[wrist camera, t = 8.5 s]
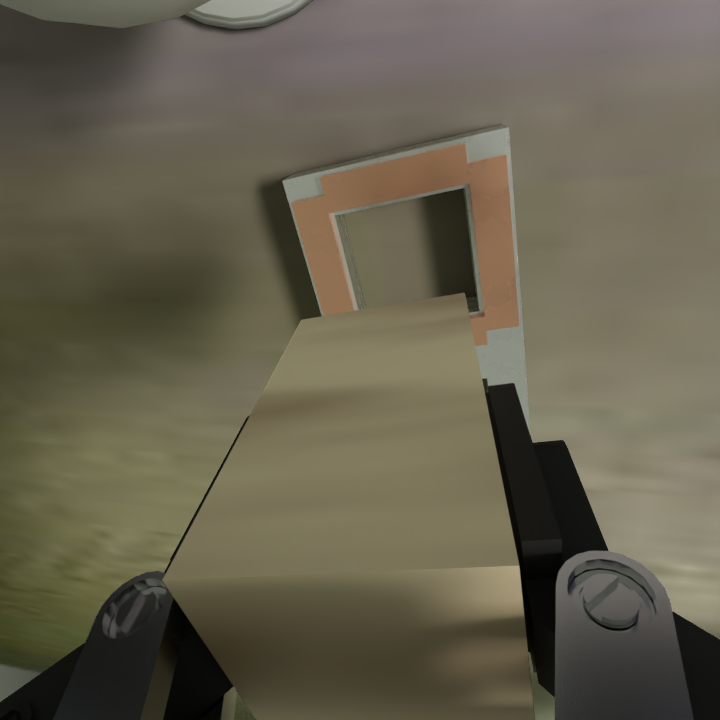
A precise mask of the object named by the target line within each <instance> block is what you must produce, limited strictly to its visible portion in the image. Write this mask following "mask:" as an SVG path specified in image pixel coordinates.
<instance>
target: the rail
mask: <svg viewBox="0 0 720 720" xmlns="http://www.w3.org/2000/svg"><path fill="white" fill-rule="evenodd" d="M282 182H283V185H284V189H285V192H286V196H287V199H288V202H289V206H290V209H291V213H292V216H293V219H294V223H295V226H296V230H297V233H298V237H299V240H300V243H301V247H302V250H303V254H304V257H305V260H306V264H307V267H308V271H309V274H310V278H311V281H312V284H313V288H314V291H315V295H316V298H317V301H318V305H319V308H320V312H321V315H322V316H327V315H333V314H339V313H345V312H351V311H357V310H363V309H366V306H365V302H364V297H363V293H362V289H361V285H360V281H359V277H358V273H357V268H356V264H355V260H354V256H353V252H352V248H351V244H350V239H349V235H348V231H347V227H346V223H345V219H344V215H343V214H345V213H349V212H354V211H359V210H363V209H368V208H373V207H377V206H382V205H387V204H391V203H396V202H401V201H405V200H410V199H415V198H419V197H424V196H429V195H433V194H438V193H443V192H447V191H452V190H457V189H462V188H463V192H464V201H465V209H466V218H467V226H468V235H469V243H470V251H471V260H472V268H473V277H474V285H475V293H476V296H473V297H467V298H466V301H467V306H468V311H469V316H470V321H471V326H472V331H473V336H474V341H475V346H476V351H477V356H478V361H479V366H480V371H481V376H482V379H485V378H486V386H487V393H488V386H492V385H500V384H508V383H514V384H515V387H516V390H517V394H518V397H519V400H520V404H521V407H522V410H523V413H524V417H525V420H526V423H527V426H528V430H529V433H530V424H529V409H528V395H527V381H526V367H525V352H524V338H523V324H522V309H521V295H520V281H519V267H518V252H517V238H516V224H515V210H514V195H513V181H512V167H511V152H510V138H509V127H508V126H505V125H503V124H500V125H496V126H492V127H488V128H483V129H479V130H475V131H471V132H467V133H462V134H458V135H454V136H450V137H446V138H442V139H437V140H433V141H429V142H425V143H421V144H416V145H412V146H408V147H404V148H400V149H396V150H391V151H387V152H383V153H379V154H375V155H370V156H366V157H362V158H358V159H354V160H350V161H345V162H341V163H337V164H333V165H329V166H324V167H320V168H316V169H312V170H308V171H304V172H299V173H295V174H292V175H291V176H289V177H287V178H286V179H284V180H283V181H282Z"/></svg>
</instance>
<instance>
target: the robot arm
mask: <svg viewBox="0 0 720 720" xmlns="http://www.w3.org/2000/svg"><path fill="white" fill-rule="evenodd" d="M485 396H486V401H487V406H488V411H489V416H490V421H491V426H492V431H493V436H494V441H495V446H496V451H497V456H498V461H499V466H500V471H501V476H502V481H503V486H504V491H505V496H506V501H507V506H508V511H509V517H510V522H511V527H512V532H513V537H514V542H515V547H516V552H517V557H518V562H519V568H520V577H521V587H522V597H523V607H524V617H525V627H526V637H527V647H528V652H530V654H531V660H532V665H533V670H534V672H537V677H538V682H539V684H540V685H541V686H542V687H544V688H545V689H546V690H547V691H548V692H549V693H550V694H552V695H553V696H554V697H555V720H720V640H719V639H718V638H716V637H714V636H713V635H711V634H709V633H708V632H706V631H704V630H703V629H701V628H699V627H698V626H696V625H694V624H693V623H691V622H689V621H688V620H686V619H684V618H683V617H681V616H679V615H678V614H676V613H674V612H673V611H672V608H671V603H670V601H669V598H668V596H667V593H666V590H665V588H664V587H663V585H662V584H661V583H660V582H659V580H658V579H657V578H656V576H655V575H654V574H653V573H652V572H650V571H649V570H648V569H647V568H645V567H644V566H643V565H642V564H640V563H639V562H637V561H635V560H633V559H631V558H628V557H626V556H624V555H621V554H617V553H613V552H609V551H608V548H607V546H606V543H605V541H604V538H603V536H602V533H601V531H600V528H599V526H598V523H597V521H596V518H595V516H594V513H593V511H592V508H591V506H590V503H589V501H588V498H587V496H586V493H585V491H584V488H583V486H582V483H581V481H580V478H579V476H578V473H577V471H576V468H575V466H574V463H573V461H572V458H571V456H570V453H569V451H568V448H567V446H566V444H565V442H564V441H563V440H558V441H548V442H537V443H532V440H531V436H530V433H529V430H528V426H527V423H526V420H525V417H524V413H523V410H522V407H521V404H520V400H519V397H518V394H517V390H516V387H515V384H514V383H508V384H500V385H492V386H488V393H485ZM249 417H250V416H248V417H247V418H246V420H245V422H244V424H243V426H242V427H241V429H240V431H239V433H238V435H237V437H236V439H235V440H234V442H233V444H232V446H231V448H230V450H229V452H228V453H227V455H226V457H225V459H224V461H223V463H222V465H221V466H220V468H219V470H218V472H217V474H216V476H215V477H214V479H213V481H212V483H211V485H210V487H209V489H208V490H207V492H206V494H205V496H204V498H203V500H202V502H201V503H200V505H199V507H198V509H197V511H196V513H195V515H194V516H193V518H192V520H191V522H190V524H189V526H188V528H187V529H186V531H185V533H184V535H183V537H182V539H181V541H180V542H179V544H178V546H177V548H176V550H175V552H174V554H173V555H172V557H171V559H170V560H171V561H170V563H169V565H168V566H167V568H166V570H165V572H160V571H153V572H146V573H143V574H141V575H138V576H135V577H134V578H132V579H130V580H129V581H127V582H125V583H124V584H122V585H121V586H120V587H119V588H118V589H117V590H115V591H114V592H113V593H112V594H111V595H110V597H109V598H108V599H107V600H106V601H105V603H104V604H103V605H102V607H101V609H100V610H99V612H98V614H97V616H96V618H95V620H94V623H93V625H92V627H91V630H90V632H89V635H88V637H87V639H86V642H85V643H84V644H82V645H81V646H80V647H78V648H77V649H75V650H74V651H72V652H71V653H70V654H68V655H67V656H65V657H64V658H62V659H61V660H60V661H58V662H57V663H55V664H54V665H53V666H51V667H50V668H48V669H47V670H45V671H44V672H43V673H41V674H40V675H38V676H37V677H35V678H34V679H33V680H31V681H30V682H28V683H27V684H25V685H24V686H23V687H21V688H20V689H18V690H17V691H16V692H14V693H13V694H11V695H10V696H8V697H7V698H6V699H4V700H3V701H1V702H0V720H234V713H235V704H236V695H237V690H236V689H235V687H234V686H233V685H232V683H231V682H230V680H229V679H228V677H227V676H226V674H225V673H224V671H223V670H222V668H221V667H220V665H219V664H218V662H217V661H216V659H215V658H214V656H213V655H212V653H211V652H210V650H209V649H208V647H207V646H206V644H205V643H204V642H203V640H202V639H201V637H200V636H199V634H198V633H197V631H196V630H195V628H194V627H193V625H192V624H191V622H190V621H189V619H188V618H187V616H186V615H185V613H184V612H183V610H182V609H181V607H180V606H179V604H178V603H177V601H176V600H175V599H174V597H173V596H172V594H171V593H170V591H169V590H168V588H167V587H166V585H165V584H164V582H163V581H162V580H163V578H164V576H165V574H166V572H167V571H168V569H169V567H170V565H171V563H172V561H173V559H174V557H175V556H176V554H177V552H178V550H179V548H180V546H181V544H182V542H183V541H184V539H185V537H186V535H187V533H188V531H189V529H190V527H191V526H192V524H193V522H194V520H195V518H196V516H197V514H198V512H199V511H200V509H201V507H202V505H203V503H204V501H205V499H206V497H207V495H208V494H209V492H210V490H211V488H212V486H213V484H214V482H215V480H216V479H217V477H218V475H219V473H220V471H221V469H222V467H223V465H224V464H225V462H226V460H227V458H228V456H229V454H230V452H231V450H232V449H233V447H234V445H235V443H236V441H237V439H238V437H239V435H240V434H241V432H242V430H243V428H244V426H245V424H246V422H247V420H248V419H249Z"/></svg>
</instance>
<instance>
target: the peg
mask: <svg viewBox="0 0 720 720" xmlns="http://www.w3.org/2000/svg"><path fill="white" fill-rule="evenodd" d="M162 581H163V582H164V584H165V585H166V587H167V588H168V590H169V591H170V593H171V594H172V596H173V597H174V599H175V600H176V601H177V603H178V604H179V606H180V607H181V609H182V610H183V612H184V613H185V615H186V616H187V618H188V619H189V621H190V622H191V624H192V625H193V627H194V628H195V630H196V631H197V633H198V634H199V636H200V637H201V639H202V640H203V642H204V643H205V644H206V646H207V647H208V649H209V650H210V652H211V653H212V655H213V656H214V658H215V659H216V661H217V662H218V664H219V665H220V667H221V668H222V670H223V671H224V673H225V674H226V676H227V677H228V679H229V680H230V682H231V683H232V685H233V686H234V687H235V689H236V690H237V692H238V693H239V695H240V696H241V698H242V699H243V701H244V702H245V704H246V705H247V707H248V708H249V710H250V711H251V713H252V714H253V716H254V717H255V719H256V720H535V716H534V706H533V696H532V686H531V677H530V667H529V657H528V647H527V637H526V627H525V617H524V607H523V597H522V587H521V577H520V568H519V562H518V557H517V552H516V547H515V542H514V537H513V532H512V527H511V522H510V517H509V511H508V506H507V501H506V496H505V491H504V486H503V481H502V476H501V471H500V466H499V461H498V456H497V451H496V446H495V441H494V436H493V431H492V426H491V421H490V416H489V411H488V406H487V401H486V396H485V391H484V386H483V381H482V376H481V371H480V366H479V361H478V356H477V351H476V346H475V341H474V336H473V331H472V326H471V321H470V316H469V311H468V306H467V301H466V296H465V293H459V294H453V295H447V296H441V297H435V298H429V299H423V300H417V301H411V302H405V303H399V304H393V305H387V306H381V307H375V308H369V309H363V310H357V311H351V312H345V313H339V314H333V315H327V316H321V317H315V318H309V319H303V320H301V321H300V323H299V325H298V327H297V328H296V330H295V332H294V334H293V336H292V338H291V340H290V342H289V343H288V345H287V347H286V349H285V351H284V353H283V355H282V357H281V358H280V360H279V362H278V364H277V366H276V368H275V370H274V372H273V373H272V375H271V377H270V379H269V381H268V383H267V385H266V387H265V388H264V390H263V392H262V394H261V396H260V398H259V400H258V402H257V403H256V405H255V407H254V409H253V411H252V413H251V415H250V417H249V419H248V420H247V422H246V424H245V426H244V428H243V430H242V432H241V434H240V435H239V437H238V439H237V441H236V443H235V445H234V447H233V449H232V450H231V452H230V454H229V456H228V458H227V460H226V462H225V464H224V465H223V467H222V469H221V471H220V473H219V475H218V477H217V479H216V480H215V482H214V484H213V486H212V488H211V490H210V492H209V494H208V495H207V497H206V499H205V501H204V503H203V505H202V507H201V509H200V511H199V512H198V514H197V516H196V518H195V520H194V522H193V524H192V526H191V527H190V529H189V531H188V533H187V535H186V537H185V539H184V541H183V542H182V544H181V546H180V548H179V550H178V552H177V554H176V556H175V557H174V559H173V561H172V563H171V565H170V567H169V569H168V571H167V572H166V574H165V576H164V578H163V580H162Z"/></svg>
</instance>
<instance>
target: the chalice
mask: <svg viewBox="0 0 720 720" xmlns="http://www.w3.org/2000/svg"><path fill="white" fill-rule="evenodd" d="M312 1H313V0H0V5H3V6H6V7H9V8H11V9H14V10H17V11H20V12H22V13H25V14H28V15H30V16H33V17H36V18H39V19H41V20H48V21H58V22H68V23H78V24H87V25H96V26H105V27H114V28H127V27H132V26H138V25H143V24H149V23H154V22H159V21H165V20H170V19H175V18H178V17H180V16H182V15H186V16H188V17H190V18H193V19H195V20H197V21H199V22H201V23H204V24H207V25H213V26H219V27H225V28H230V29H244V28H254V27H263V26H268V25H270V24H273V23H275V22H277V21H280V20H282V19H285V18H287V17H289V16H292V15H294V14H296V13H298V12H299V11H300V10H301V9H303V8H304V7H305V6H306V5H308V4H309V3H310V2H312Z"/></svg>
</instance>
